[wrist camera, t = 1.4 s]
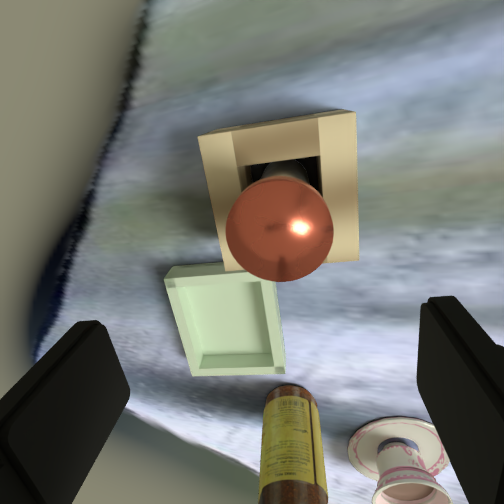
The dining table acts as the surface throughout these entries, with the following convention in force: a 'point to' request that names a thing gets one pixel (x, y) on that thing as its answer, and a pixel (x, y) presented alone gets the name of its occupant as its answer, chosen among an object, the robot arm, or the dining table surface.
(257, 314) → the tray
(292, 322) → the dining table surface
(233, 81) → the dining table surface
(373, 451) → the teacup
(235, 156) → the socket block
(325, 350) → the dining table surface
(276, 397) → the sauce bottle
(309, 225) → the pin
